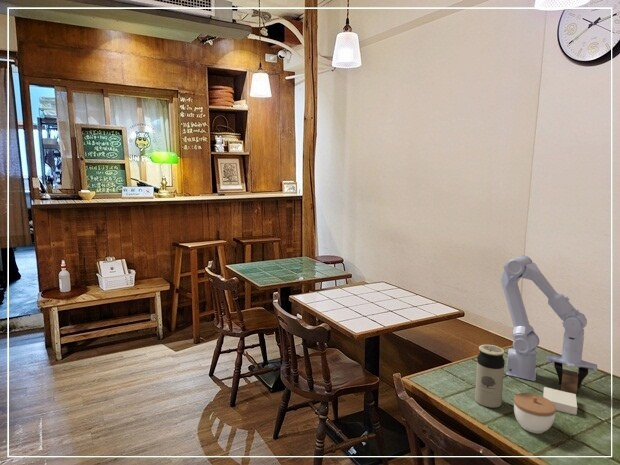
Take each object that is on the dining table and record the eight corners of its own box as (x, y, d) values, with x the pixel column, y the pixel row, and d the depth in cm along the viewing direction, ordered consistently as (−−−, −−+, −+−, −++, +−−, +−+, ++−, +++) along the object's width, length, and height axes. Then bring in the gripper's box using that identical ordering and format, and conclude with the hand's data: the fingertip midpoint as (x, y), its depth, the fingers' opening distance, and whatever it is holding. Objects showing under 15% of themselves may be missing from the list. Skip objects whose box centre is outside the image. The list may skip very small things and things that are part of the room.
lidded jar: (553, 443, 111) (556, 411, 110) (510, 430, 117) (512, 400, 115) (554, 423, 120) (556, 394, 119) (513, 412, 126) (516, 384, 124)
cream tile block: (542, 407, 129) (543, 399, 129) (543, 395, 137) (543, 386, 136) (576, 416, 125) (577, 407, 124) (574, 402, 132) (575, 394, 132)
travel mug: (480, 392, 137) (484, 342, 135) (505, 401, 132) (509, 349, 129) (470, 401, 132) (474, 348, 129) (495, 411, 126) (499, 356, 124)
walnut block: (560, 390, 139) (562, 374, 138) (560, 385, 143) (562, 368, 142) (576, 394, 137) (578, 377, 136) (575, 388, 141) (577, 372, 140)
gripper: (547, 347, 138) (544, 385, 140) (599, 357, 131) (595, 396, 133) (547, 340, 144) (544, 376, 146) (597, 349, 137) (593, 387, 139)
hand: (568, 385), depth 140 cm, fingers closed on walnut block, 4 cm apart
